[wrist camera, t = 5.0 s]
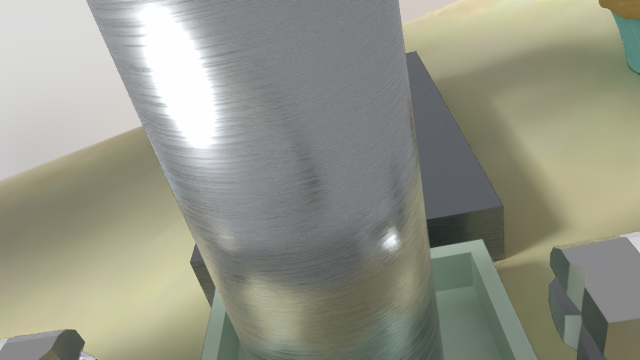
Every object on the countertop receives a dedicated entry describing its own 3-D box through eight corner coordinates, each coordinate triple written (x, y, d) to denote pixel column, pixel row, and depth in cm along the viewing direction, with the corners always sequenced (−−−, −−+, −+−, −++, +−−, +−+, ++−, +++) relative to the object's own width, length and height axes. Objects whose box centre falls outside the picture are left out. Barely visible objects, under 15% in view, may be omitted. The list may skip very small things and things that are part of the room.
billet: (283, 515, 12) (22, 22, 6) (289, 358, 16) (136, -43, 10) (472, 491, 12) (414, -71, 5) (431, 336, 16) (369, -100, 9)
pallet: (212, 309, 19) (190, 262, 18) (250, 122, 33) (239, 89, 31) (504, 258, 18) (503, 205, 17) (420, 87, 32) (416, 51, 30)
